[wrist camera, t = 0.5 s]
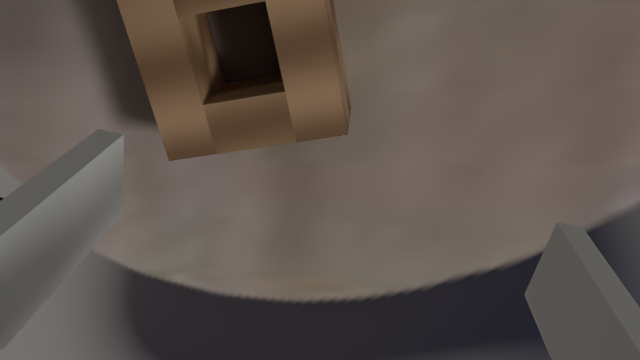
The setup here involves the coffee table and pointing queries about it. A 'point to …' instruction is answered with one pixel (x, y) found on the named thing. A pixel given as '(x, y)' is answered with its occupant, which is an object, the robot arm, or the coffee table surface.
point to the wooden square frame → (240, 96)
